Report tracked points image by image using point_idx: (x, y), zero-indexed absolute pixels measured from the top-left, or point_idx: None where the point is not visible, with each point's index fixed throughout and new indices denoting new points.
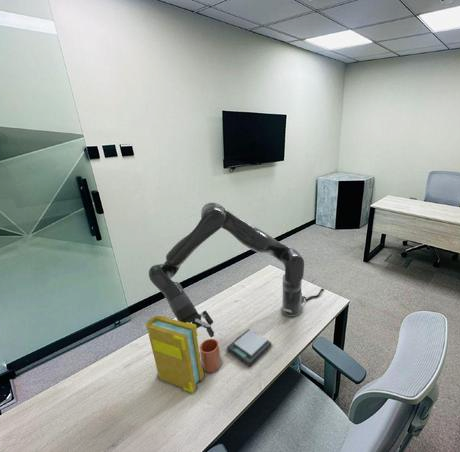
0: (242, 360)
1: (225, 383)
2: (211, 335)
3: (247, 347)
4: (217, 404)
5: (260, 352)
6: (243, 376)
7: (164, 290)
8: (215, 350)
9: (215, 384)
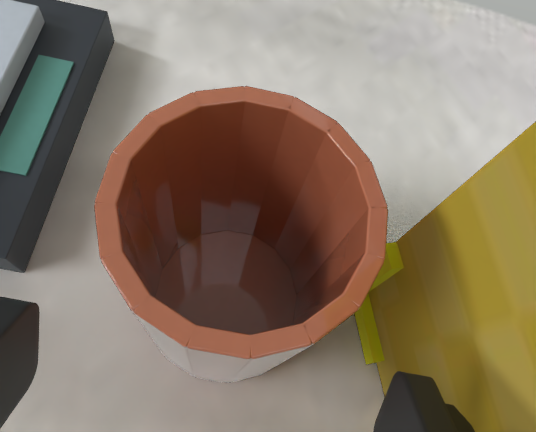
0: (88, 94)
1: None
2: (23, 337)
3: None
4: (425, 85)
5: None
6: (201, 44)
7: None
8: (260, 98)
9: None
